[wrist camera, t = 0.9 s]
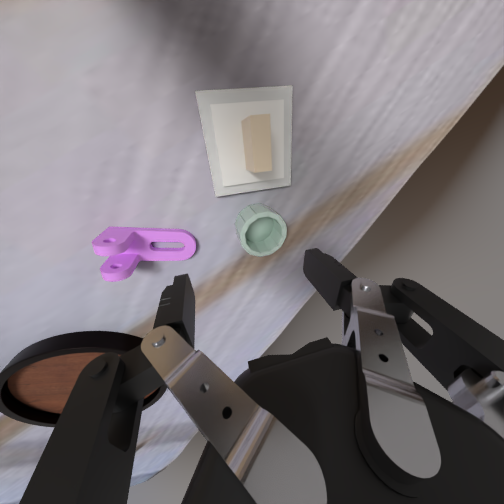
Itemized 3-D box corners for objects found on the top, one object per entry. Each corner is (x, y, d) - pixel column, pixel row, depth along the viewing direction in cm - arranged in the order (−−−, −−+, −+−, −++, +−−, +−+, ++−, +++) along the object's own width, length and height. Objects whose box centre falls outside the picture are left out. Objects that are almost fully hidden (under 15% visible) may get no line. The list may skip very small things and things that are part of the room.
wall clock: (-28, 345, 28) (180, 349, 40) (-4, 324, 32) (182, 333, 44) (1, 437, 40) (156, 418, 52) (17, 414, 43) (158, 401, 55)
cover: (209, 105, 23) (212, 94, 18) (282, 100, 25) (301, 88, 20) (223, 185, 28) (228, 193, 24) (282, 177, 30) (297, 182, 25)
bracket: (117, 256, 31) (97, 282, 25) (109, 226, 28) (85, 246, 22) (196, 256, 34) (195, 278, 29) (195, 229, 32) (194, 247, 26)
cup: (232, 207, 31) (237, 216, 27) (275, 200, 33) (286, 208, 28) (238, 247, 35) (243, 260, 31) (276, 239, 37) (286, 251, 33)
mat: (195, 93, 23) (195, 90, 22) (289, 87, 25) (292, 85, 24) (215, 195, 30) (215, 196, 29) (288, 184, 32) (290, 185, 31)
